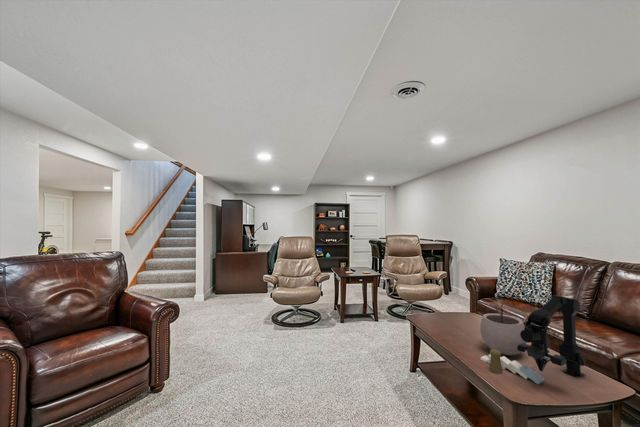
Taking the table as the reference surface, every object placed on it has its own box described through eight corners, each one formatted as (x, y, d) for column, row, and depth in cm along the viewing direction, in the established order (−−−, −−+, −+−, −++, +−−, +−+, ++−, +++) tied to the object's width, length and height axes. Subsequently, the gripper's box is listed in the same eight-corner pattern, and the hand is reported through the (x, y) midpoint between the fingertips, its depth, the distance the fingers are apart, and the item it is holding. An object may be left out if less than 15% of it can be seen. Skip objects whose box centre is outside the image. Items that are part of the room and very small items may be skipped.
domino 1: (501, 365, 155) (485, 358, 163) (501, 361, 155) (485, 355, 163) (496, 367, 152) (480, 360, 160) (496, 363, 153) (480, 357, 160)
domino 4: (531, 376, 142) (513, 363, 149) (532, 374, 141) (514, 360, 149) (526, 379, 139) (508, 365, 147) (527, 376, 139) (509, 362, 146)
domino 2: (508, 367, 152) (491, 355, 159) (509, 364, 151) (492, 352, 158) (504, 369, 149) (487, 357, 156) (505, 366, 148) (488, 354, 156)
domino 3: (519, 371, 147) (502, 358, 154) (520, 368, 147) (503, 355, 154) (514, 374, 145) (497, 360, 152) (516, 371, 144) (499, 358, 151)
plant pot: (481, 341, 186) (479, 296, 187) (524, 349, 173) (523, 301, 175) (480, 355, 165) (479, 305, 166) (530, 366, 153) (528, 311, 154)
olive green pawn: (497, 368, 151) (496, 347, 151) (505, 373, 145) (504, 352, 145) (486, 368, 151) (486, 347, 151) (494, 374, 145) (493, 352, 145)
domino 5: (542, 381, 137) (524, 367, 145) (544, 378, 137) (525, 364, 144) (537, 384, 135) (518, 369, 142) (539, 381, 134) (520, 366, 142)
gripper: (510, 335, 141) (511, 366, 141) (554, 350, 125) (555, 385, 124) (522, 331, 146) (523, 361, 146) (566, 345, 130) (567, 379, 129)
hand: (541, 371), depth 136 cm, fingers closed
